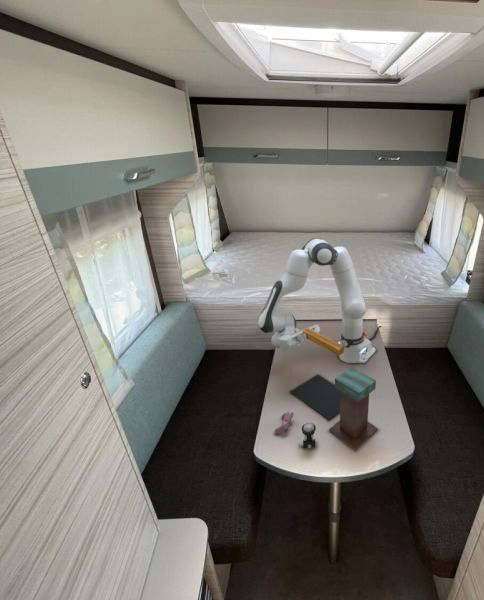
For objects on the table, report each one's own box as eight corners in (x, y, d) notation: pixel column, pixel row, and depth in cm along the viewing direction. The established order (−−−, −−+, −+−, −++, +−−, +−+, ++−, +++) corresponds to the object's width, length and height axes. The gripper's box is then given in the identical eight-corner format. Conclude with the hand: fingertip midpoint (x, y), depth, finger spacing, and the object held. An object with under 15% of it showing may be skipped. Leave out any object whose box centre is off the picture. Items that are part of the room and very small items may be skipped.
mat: (317, 375, 167) (317, 374, 167) (356, 399, 150) (356, 398, 150) (290, 392, 155) (290, 391, 155) (329, 420, 139) (329, 419, 138)
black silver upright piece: (298, 451, 124) (297, 432, 120) (299, 440, 129) (298, 421, 125) (316, 450, 125) (315, 431, 120) (316, 439, 129) (315, 420, 125)
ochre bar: (308, 333, 148) (308, 327, 147) (344, 352, 134) (344, 346, 133) (302, 336, 146) (302, 330, 144) (338, 355, 132) (338, 349, 131)
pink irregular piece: (283, 438, 132) (289, 428, 128) (273, 433, 132) (279, 422, 128) (290, 420, 140) (297, 410, 137) (281, 415, 140) (287, 405, 137)
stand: (351, 413, 143) (353, 363, 132) (377, 430, 134) (381, 379, 123) (329, 431, 133) (329, 379, 123) (355, 450, 125) (357, 397, 114)
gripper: (312, 335, 161) (329, 331, 151) (279, 352, 148) (295, 349, 138) (307, 323, 161) (324, 319, 151) (273, 339, 148) (289, 335, 137)
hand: (310, 333), depth 144 cm, fingers closed on ochre bar, 3 cm apart
